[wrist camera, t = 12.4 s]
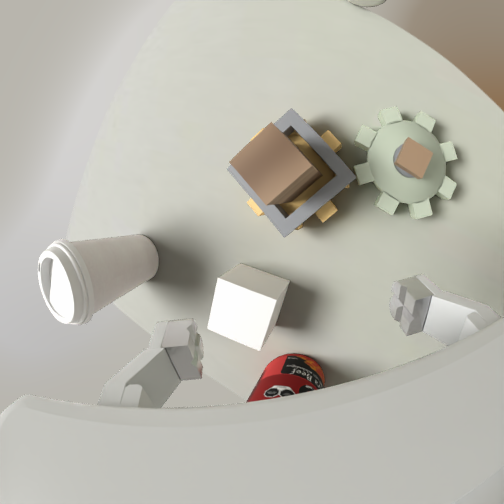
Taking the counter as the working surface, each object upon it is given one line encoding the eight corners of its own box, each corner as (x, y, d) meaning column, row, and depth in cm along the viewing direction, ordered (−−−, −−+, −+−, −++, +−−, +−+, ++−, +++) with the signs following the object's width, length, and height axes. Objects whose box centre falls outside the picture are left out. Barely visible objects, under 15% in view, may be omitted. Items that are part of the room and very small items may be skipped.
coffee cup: (143, 209, 35) (49, 223, 21) (180, 269, 35) (90, 310, 21) (110, 247, 38) (29, 271, 25) (141, 300, 38) (63, 342, 24)
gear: (462, 149, 21) (482, 142, 16) (423, 236, 24) (437, 244, 20) (377, 96, 23) (382, 77, 18) (335, 182, 26) (333, 180, 22)
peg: (322, 175, 24) (311, 165, 16) (291, 202, 26) (266, 205, 18) (294, 144, 25) (271, 122, 17) (264, 171, 26) (229, 162, 18)
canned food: (337, 381, 31) (326, 446, 20) (289, 405, 34) (266, 464, 23) (300, 340, 31) (277, 400, 21) (253, 368, 34) (218, 423, 24)
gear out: (370, 182, 25) (375, 179, 21) (291, 247, 29) (282, 255, 25) (300, 105, 26) (292, 91, 22) (229, 171, 30) (210, 169, 26)
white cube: (229, 307, 33) (206, 328, 28) (240, 262, 32) (217, 277, 26) (275, 325, 32) (259, 351, 26) (290, 280, 30) (276, 300, 25)
